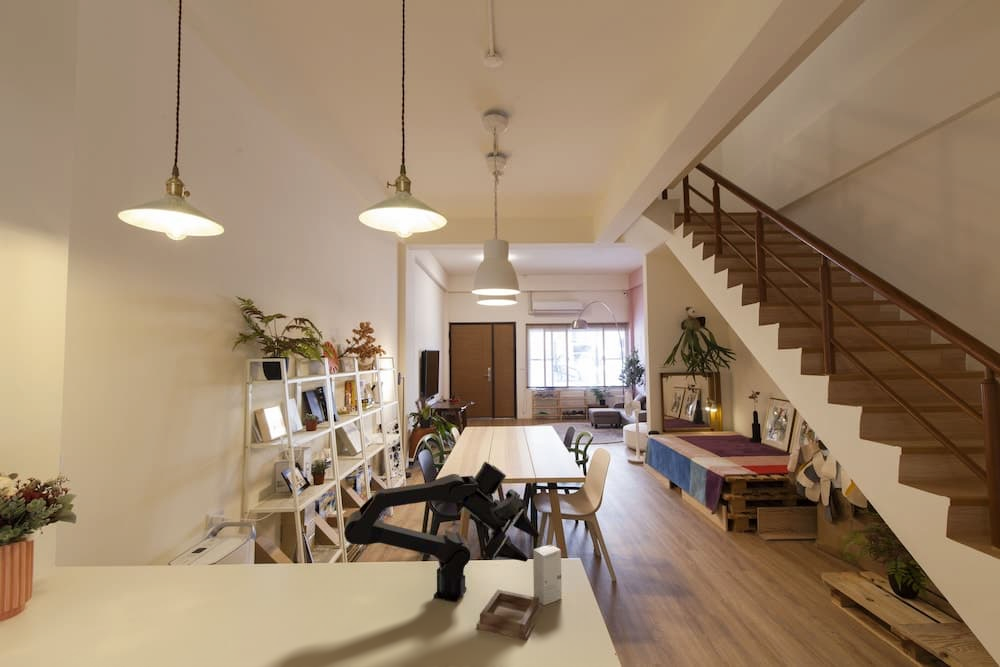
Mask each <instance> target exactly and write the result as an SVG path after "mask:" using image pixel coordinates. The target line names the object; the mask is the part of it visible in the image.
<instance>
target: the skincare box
mask: <svg viewBox="0 0 1000 667" xmlns="http://www.w3.org/2000/svg"><path fill="white" fill-rule="evenodd" d="M532 552H533V553H532V554H533V556H532V557H533V559H532V560H533V562H532V563H533V564H532V566H533V567H532V568H533V597H536V598H539V604H540V605H542V606H547V605H548V604H551V603H554V602H556V601H559V600H561V599H562V597H563V596H562V593H563V592H562V550H561V549H560V548H558V547H557V546H555V545H553V544H548V545H544V546H540V547H537V548H534V549H533V551H532ZM558 599H559V600H558Z"/></svg>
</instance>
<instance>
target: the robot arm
mask: <svg viewBox="0 0 1000 667" xmlns="http://www.w3.org/2000/svg"><path fill="white" fill-rule="evenodd" d="M506 477H507V475H506V473H504V472H503V471H502V470H500V469H499V468H498V467H496V466H495V465H492V464H490V463H489V462H487V461H484V462H483V464H482V465H481V468H480V469H479V471H478V472H477V473H476V475H475V476H474V475H463V476H460V475H459V474H458V473H457V474H456V473H451V474H448V475H446V476H445V475H444V476H442V477H441V476H440V477H439V478H436V479H435V480H433V481H430V482H425V483H418V484H417V483H416V484H411V485H404V486H396V487H391V488H390V487H389V488H379V489H376V490H375V492H374V493H373V494H372V496H371V497H370V498H369V499H367V501H365V502H364V503H363V504H362V505H361V506H360V508H359V509H358V510H355V511H353V512H352V513H350V514H349V516H348V517H347V519H346V523H345V528H344V531H343V532H344V535H343V536H344V539H346V542H348V543H349V544H351V545H357V546H358V545H361V546H369V545H374V544H383V545H387V546H392V547H395V548H396V547H397V548H399V549H403V550H408V551H413V552H417V553H421V554H425V555H430V556H433V557H435V558H436V559H437V561H438V566H439V567H438V568H437V569H436V591H435V593H434V594H433V598H435V599H439V600H443V599H444V600H443V601H448V602H449V601H450V602H451V603H453V602H454V603H456V602H458V600H459V599H460V598H461V597H462V596H463V594H464V593H465V592H466V591H467V586H466V575H465V574H464V572H465V571H464V569H465V567H466V566H467V565H468V564H469V562H470V560H471V556H472V555H471V551H470V549H469V546H468V543H467V541H466V539H465V537H464V536H463V535H461V534H460V532H453V531H451V530H448V529H445V530H444V533H443V534H442V535H433V534H430V533H429V534H428V533H425V532H421V531H417V530H414V529H409V528H406V527H401V526H398V525H394V524H389V523H385V522H384V521H382V520H381V519H379V518H380V515H381V514H382V513H383V511H385V509H387V508H391V507H399V506H406V505H413V504H419V503H420V504H421V503H425V502H426V503H427V502H438V503H443V504H455V506H456V514H460V513H461V512H462V511H463V509H464V510H466V511H467V512H469V513H470V514H471V515H472V516H473V517H475V518H476V519H477V520H479V523H478V525H479V526H480V527H483V525H485V526H486V527H487V528H488V529H490V530H491V531H492V533H490V534H491V537H490V539H489V540H488V542H487V544H485V546H484V548H483V549H482V551H483V554H484V556H485V557H487V558H488V559H489V560H492V558H493V559H496V558H503V559H504V558H505V559H512V560H516V561H521V562H524V563H525V562H528V560H529V558H528V556H527V555H526V554H525V553H523V551H521V549H520V548H518V547H517V545H514V543H513V542H512V540H511V538H510V535H508V536H507V535H506V534H507V533H506V532H508V529H509V528H510V526H511V524H513V525H512V526H513V527H514V528H516V529H517V530H519V531H522V532H523V533H525V534H527V535H530V536H531V537H534V538H536V539H539V537H540V533H539V531H538V530H537V529H536V528H535V526H534V524H533V523H532V521H531V520H530V518H529V517H528V512H527V510H528V509H527V508H528V507H527V506H526V504H527V502H526V500H524V499H522V498H521V495H520V493H518V492H517V491H516V490H514V489H513V488H511V489H509V490H508V491H507V492H506V493H505V498H504V499H503V500H502V501H500V500H499V499H494V500H492V499H490V497H488V496H489V495H491V496H492V495H493V494H495V493H496V492H497V490H498V489H499V487H500V486H501V484H502V483H503V482H504V480H505V479H506ZM484 493H485V494H484ZM487 495H488V496H487Z"/></svg>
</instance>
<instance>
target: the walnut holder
mask: <svg viewBox="0 0 1000 667" xmlns="http://www.w3.org/2000/svg"><path fill="white" fill-rule="evenodd" d="M542 610H543V605H542V604H540V602H539V598H536V597H534V596H532V595H526V594H521V593H517V592H511V591H507V590H503V589H496V591H495V592H494V593H493V595H492V596H491V598H490V599H489V600H488V602H487V604H485V606H484V607H483V609H482V610H481V612H480V613H479V620H477V623H476V628H477V629H481V630H484V631H489V632H493V633H497V634H500V635H504V636H509V637H513V638H517V639H521V640H525V641H527V640H528V639H529V637H530V635H531V633H532V631H533V628H534V627H535V625H536V622H537V620H538V619H539V617H540V614H541V612H542Z"/></svg>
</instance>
